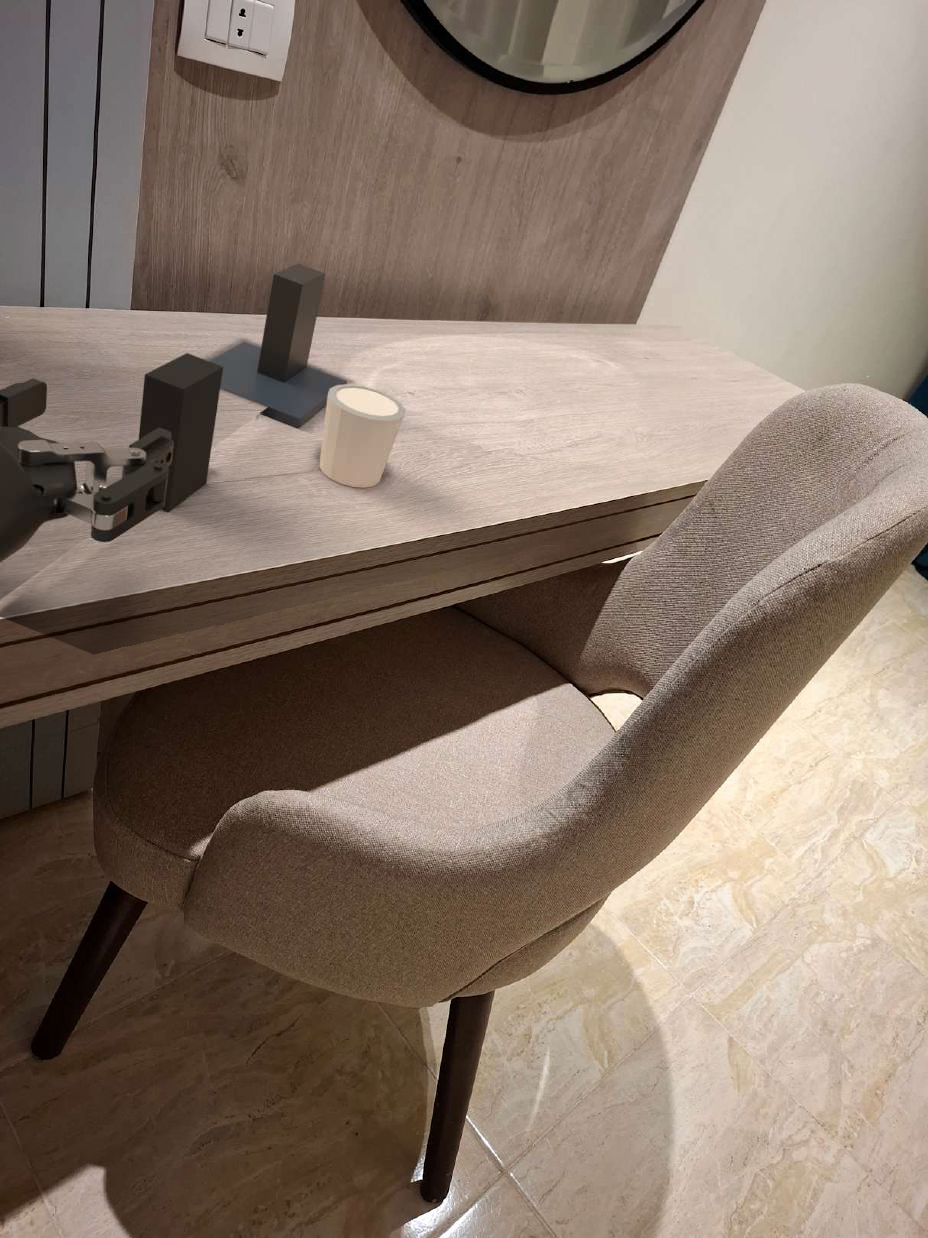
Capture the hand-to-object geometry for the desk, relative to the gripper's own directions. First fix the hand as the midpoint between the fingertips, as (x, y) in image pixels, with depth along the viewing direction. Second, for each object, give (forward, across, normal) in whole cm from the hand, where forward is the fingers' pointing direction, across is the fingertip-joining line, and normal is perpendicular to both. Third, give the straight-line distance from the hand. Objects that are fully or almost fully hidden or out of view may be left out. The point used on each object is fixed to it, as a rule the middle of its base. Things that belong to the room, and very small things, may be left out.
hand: (102, 418), depth 57 cm
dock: (+36, +3, +10) cm, 37 cm away
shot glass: (+24, -10, +10) cm, 28 cm away
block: (+10, 0, +10) cm, 14 cm away
